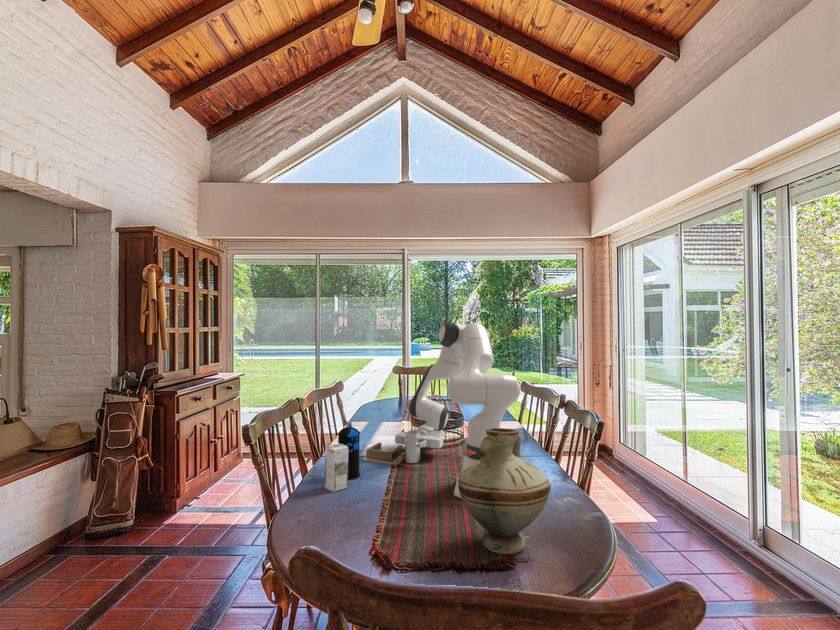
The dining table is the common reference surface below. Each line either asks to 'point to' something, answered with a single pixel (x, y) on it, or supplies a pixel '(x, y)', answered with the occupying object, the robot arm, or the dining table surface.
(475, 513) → the amphora
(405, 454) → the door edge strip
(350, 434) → the aerosol can
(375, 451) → the keeper
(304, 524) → the dining table surface
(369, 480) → the dining table surface
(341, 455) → the syrup box
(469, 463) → the robot arm
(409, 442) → the bar
